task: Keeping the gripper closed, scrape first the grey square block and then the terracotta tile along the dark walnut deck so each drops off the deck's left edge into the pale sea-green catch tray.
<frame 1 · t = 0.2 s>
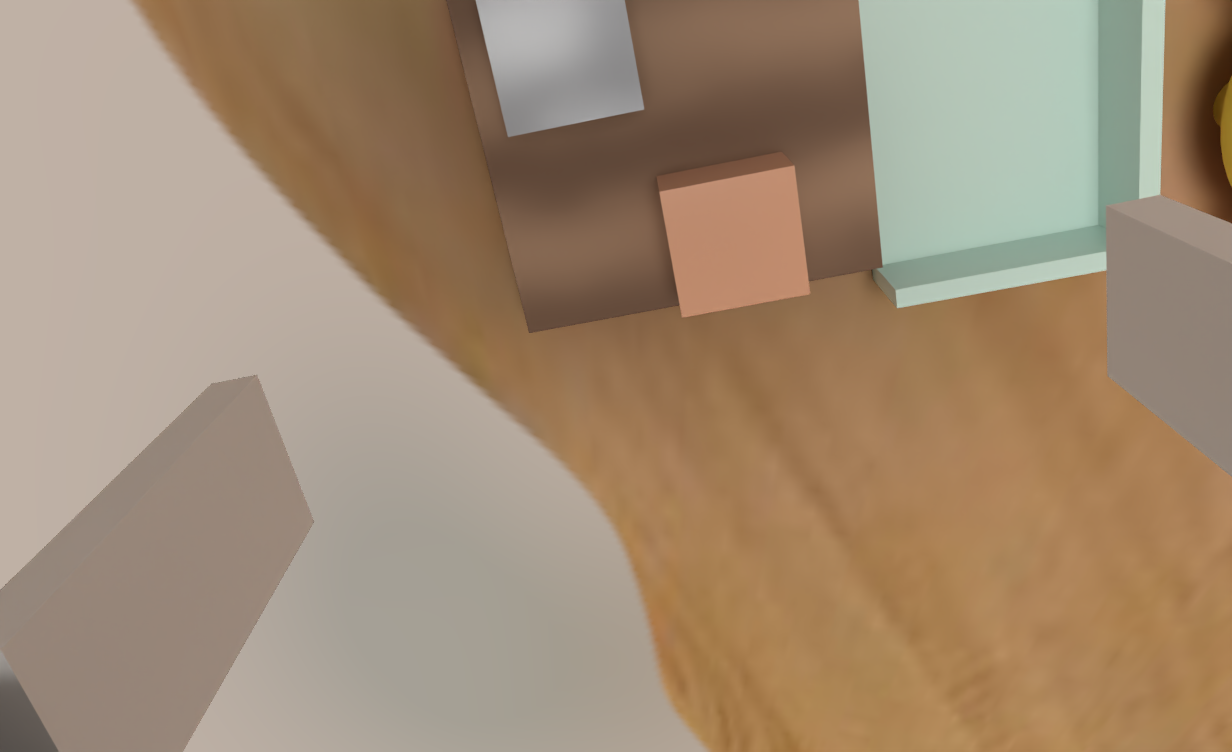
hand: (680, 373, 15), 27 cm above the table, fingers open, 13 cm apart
grey square block: (565, 45, 35), point 3 cm above the table, touching deck
deck: (671, 122, 39), on the table
terracotta tile: (728, 224, 38), point 3 cm above the table, touching deck
catch tray: (981, 60, 38), on the table
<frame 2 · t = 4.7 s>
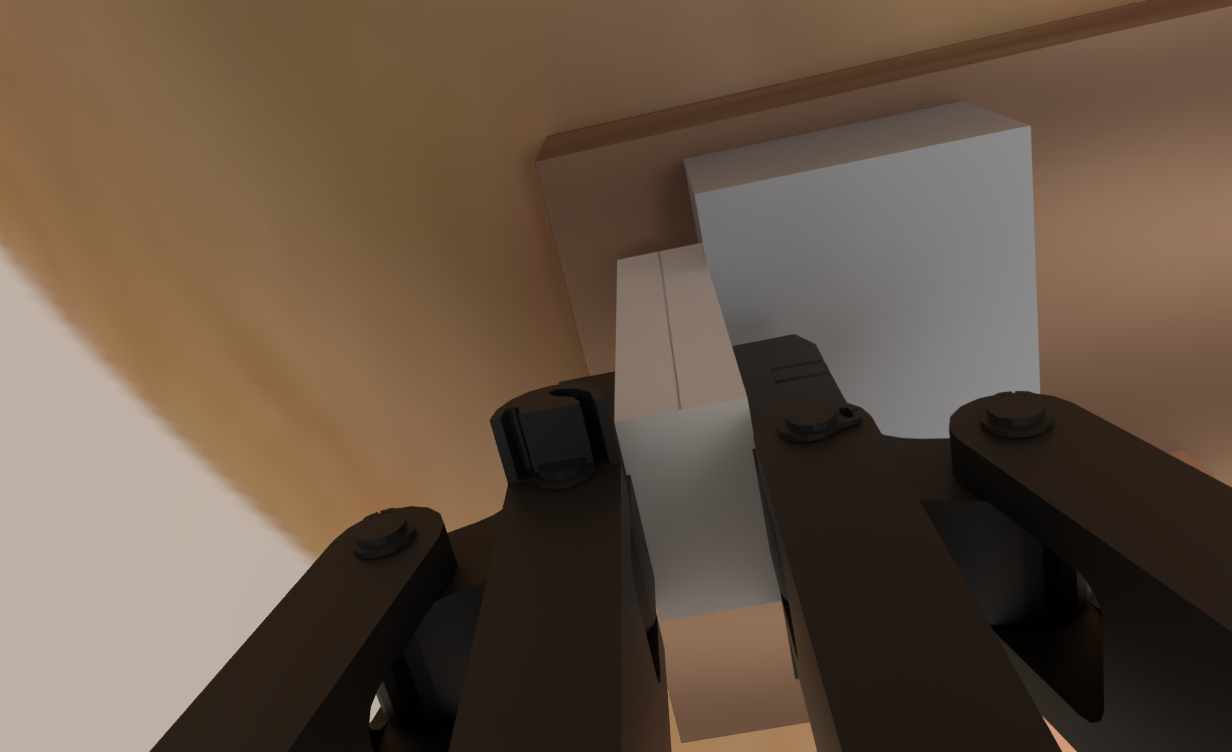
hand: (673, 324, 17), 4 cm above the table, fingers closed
grey square block: (837, 263, 18), point 3 cm above the table, touching gripper
deck: (934, 366, 22), on the table
terracotta tile: (1063, 572, 20), point 3 cm above the table, touching deck
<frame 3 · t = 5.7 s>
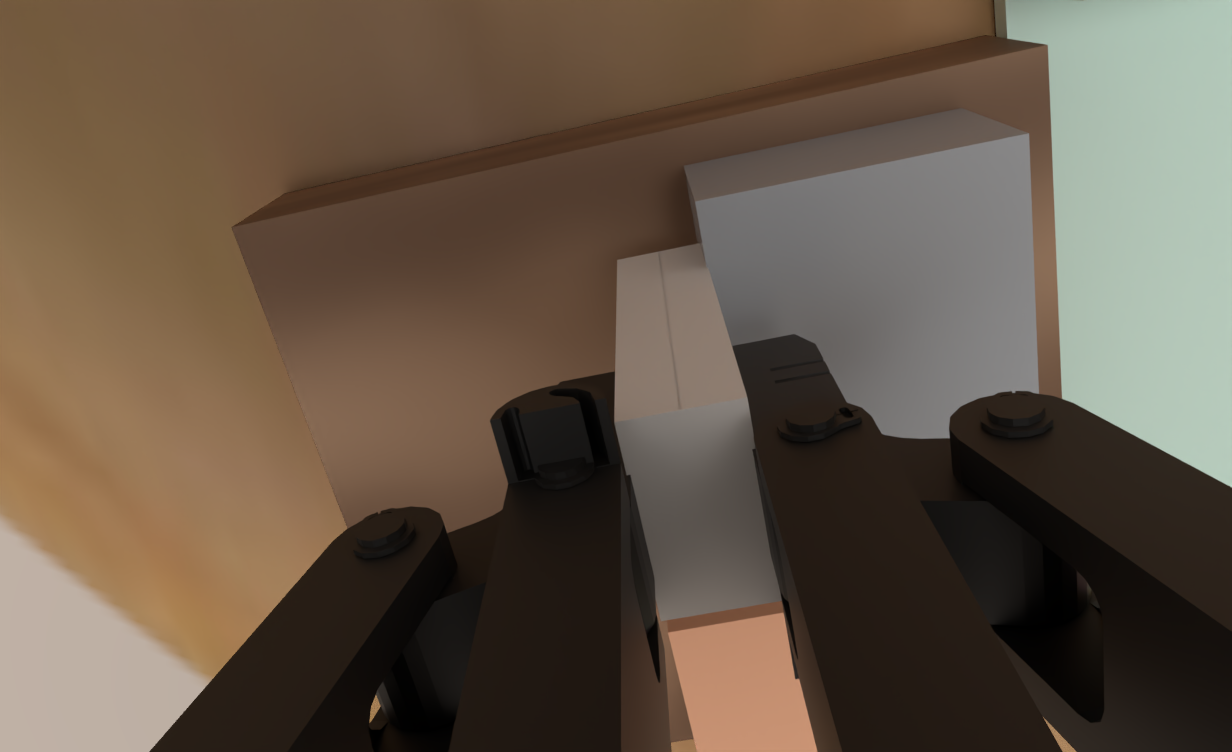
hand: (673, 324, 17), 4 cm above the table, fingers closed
grey square block: (836, 269, 18), point 3 cm above the table, touching gripper
deck: (685, 413, 22), on the table
terracotta tile: (794, 616, 21), point 3 cm above the table, touching deck
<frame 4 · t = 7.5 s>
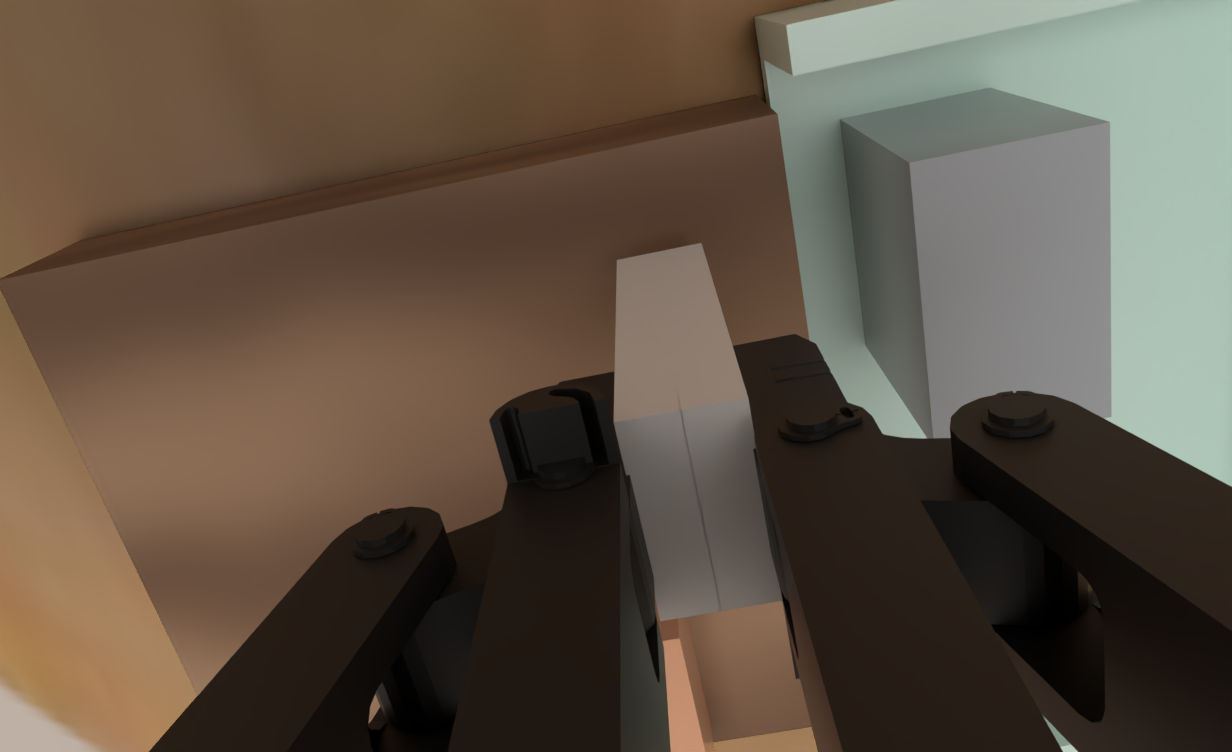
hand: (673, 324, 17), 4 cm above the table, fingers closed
grey square block: (883, 270, 18), point 3 cm above the table, tilted 90°, touching catch tray
deck: (491, 455, 23), on the table
terracotta tile: (583, 659, 21), point 3 cm above the table, touching deck
catch tray: (1034, 354, 22), on the table
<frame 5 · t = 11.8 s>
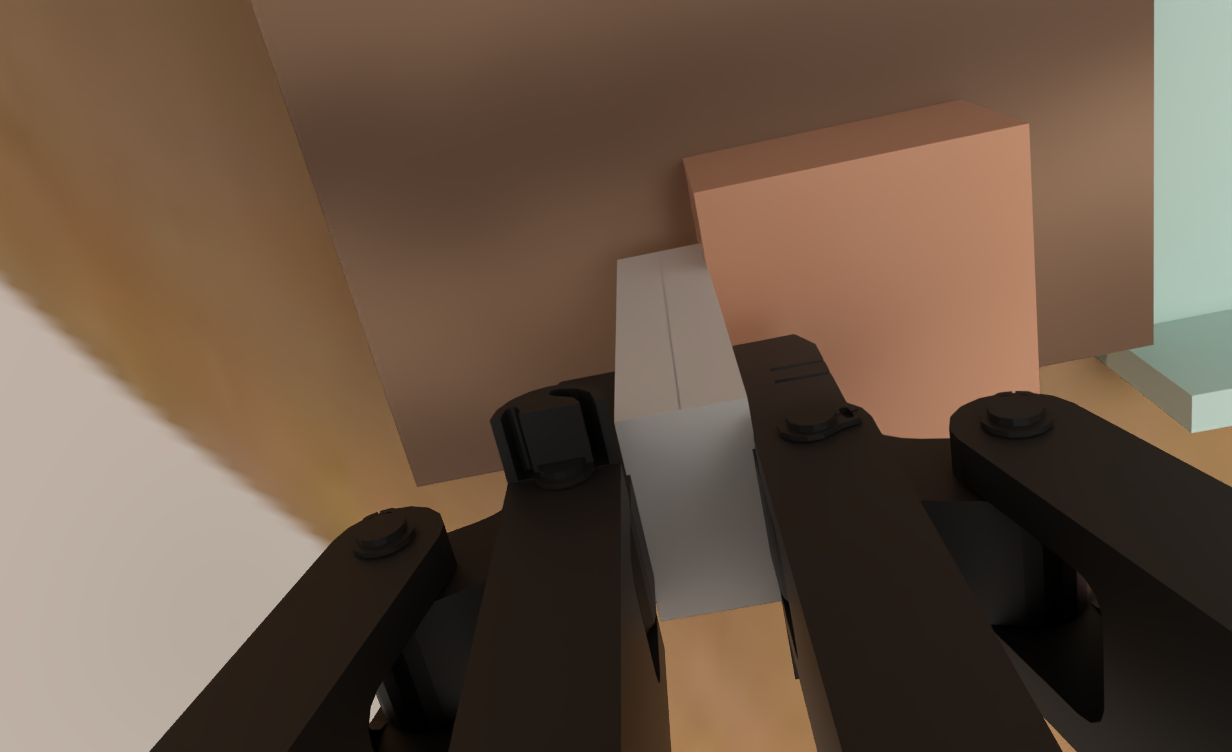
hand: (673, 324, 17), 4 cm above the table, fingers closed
deck: (698, 51, 19), on the table
terracotta tile: (836, 261, 18), point 3 cm above the table, touching deck, gripper
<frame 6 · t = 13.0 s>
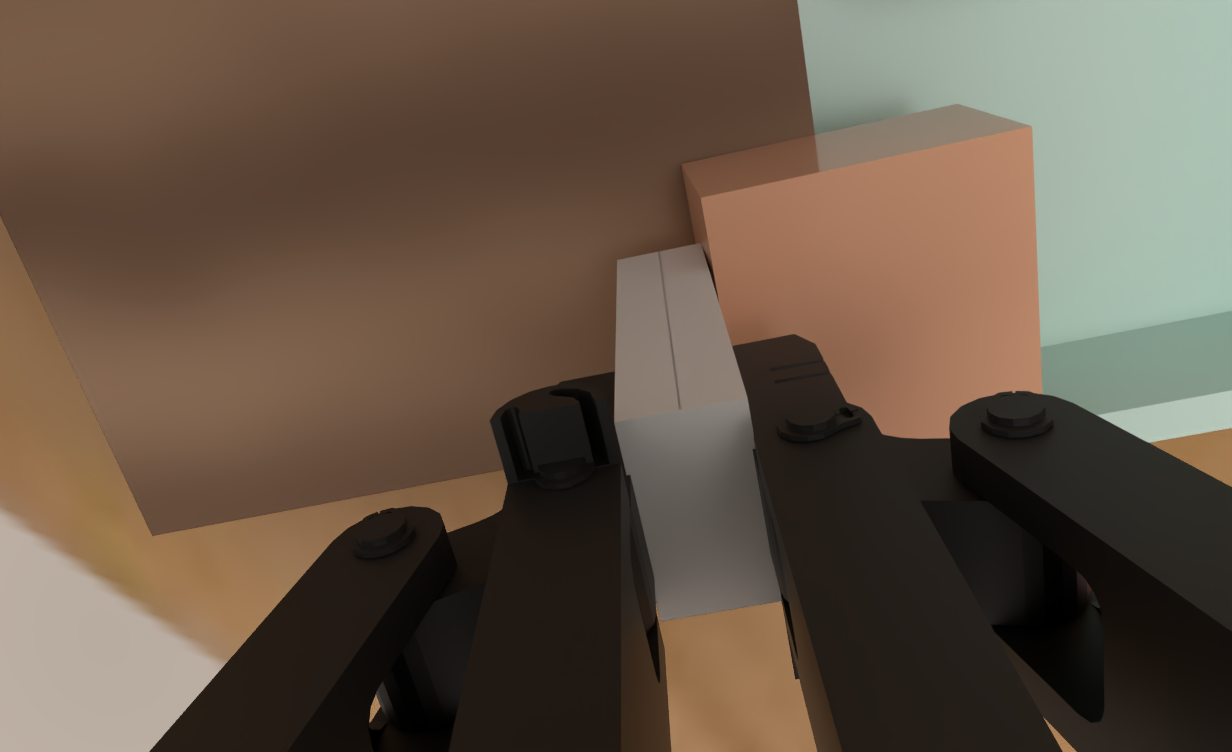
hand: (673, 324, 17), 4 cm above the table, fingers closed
deck: (420, 114, 20), on the table
terracotta tile: (834, 266, 18), point 3 cm above the table, touching gripper
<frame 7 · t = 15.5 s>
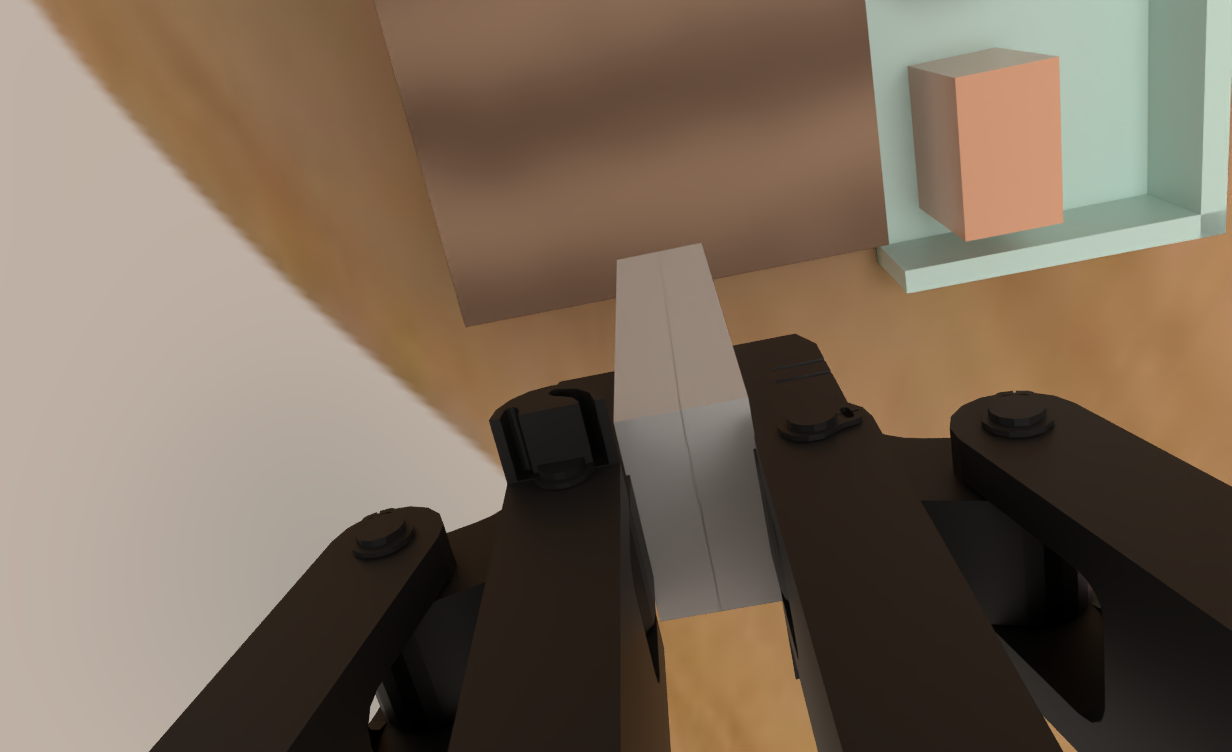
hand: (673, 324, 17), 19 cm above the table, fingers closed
deck: (633, 73, 33), on the table
terracotta tile: (935, 149, 31), point 3 cm above the table, tilted 90°, touching catch tray
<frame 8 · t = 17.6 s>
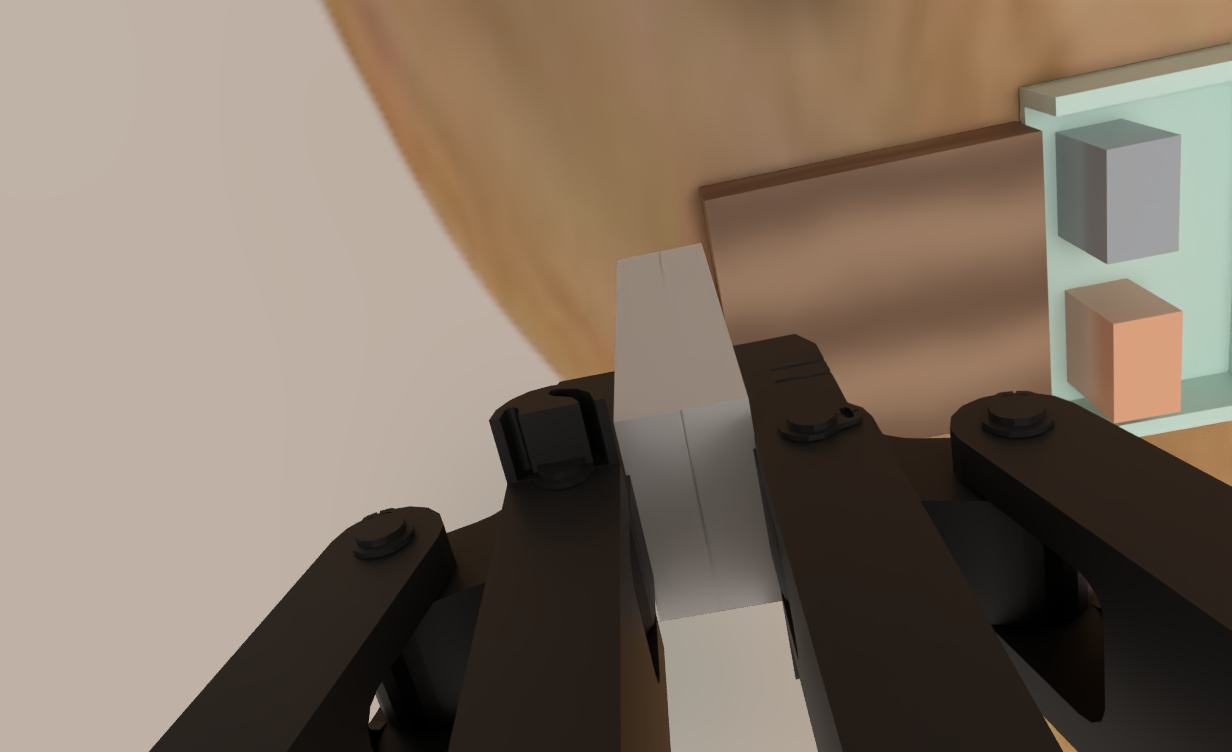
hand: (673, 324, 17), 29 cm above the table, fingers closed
grey square block: (1080, 196, 42), point 3 cm above the table, tilted 90°, touching catch tray
deck: (870, 293, 47), on the table
terracotta tile: (1088, 354, 45), point 3 cm above the table, tilted 90°, touching catch tray
catch tray: (1134, 241, 46), on the table
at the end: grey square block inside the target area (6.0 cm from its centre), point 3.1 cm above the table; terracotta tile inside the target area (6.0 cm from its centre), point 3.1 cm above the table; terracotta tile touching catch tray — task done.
